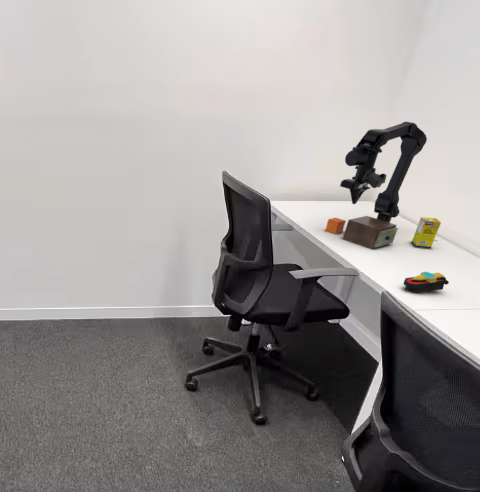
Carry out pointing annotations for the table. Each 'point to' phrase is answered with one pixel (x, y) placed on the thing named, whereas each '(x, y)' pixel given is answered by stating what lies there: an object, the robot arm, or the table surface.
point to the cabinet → (365, 230)
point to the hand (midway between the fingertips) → (353, 203)
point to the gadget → (425, 282)
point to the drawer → (385, 237)
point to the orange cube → (335, 225)
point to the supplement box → (426, 232)
